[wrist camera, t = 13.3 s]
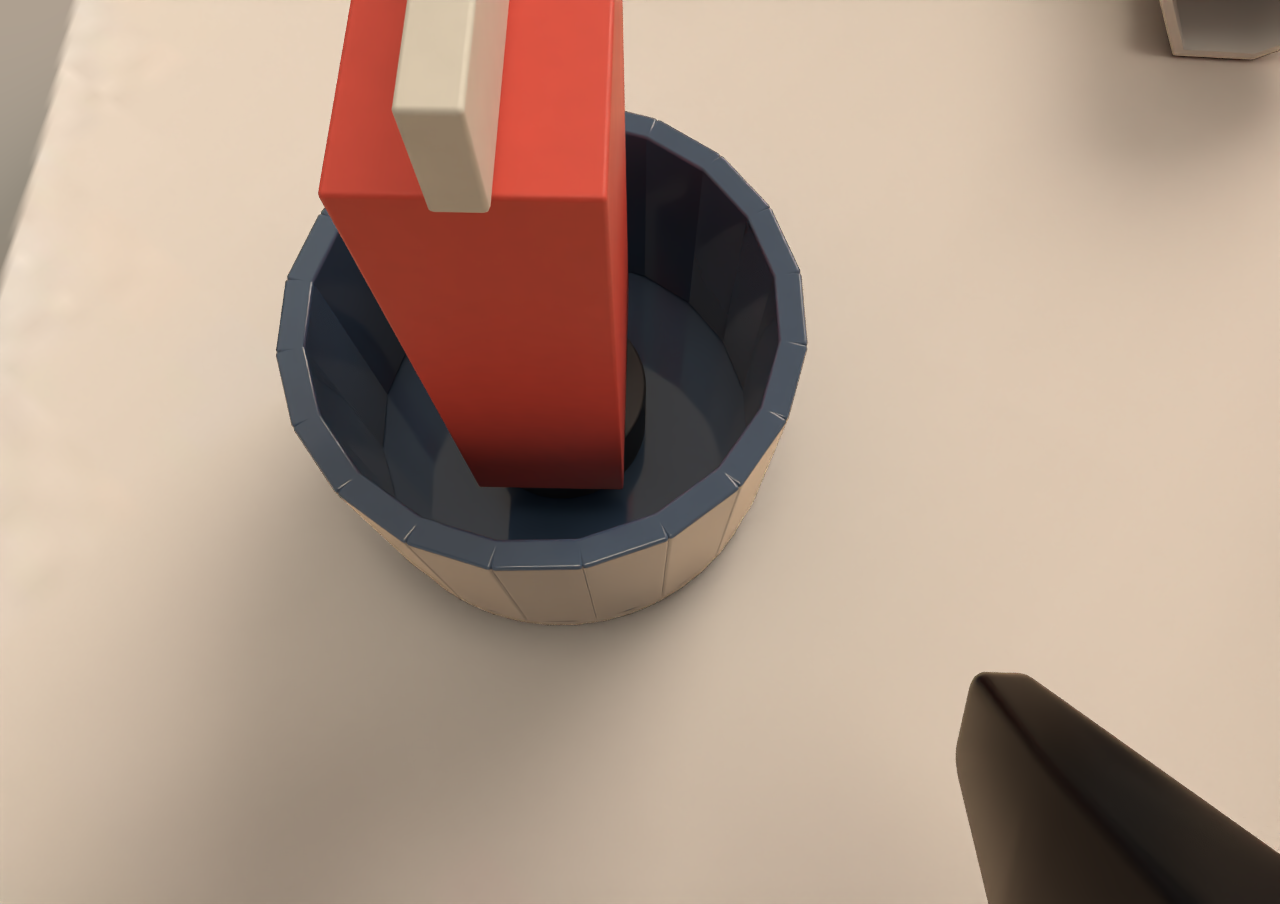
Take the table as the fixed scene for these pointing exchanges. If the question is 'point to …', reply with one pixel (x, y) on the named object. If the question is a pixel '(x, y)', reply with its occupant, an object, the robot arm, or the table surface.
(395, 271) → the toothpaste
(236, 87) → the table surface
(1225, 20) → the tube
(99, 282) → the table surface
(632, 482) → the holder
